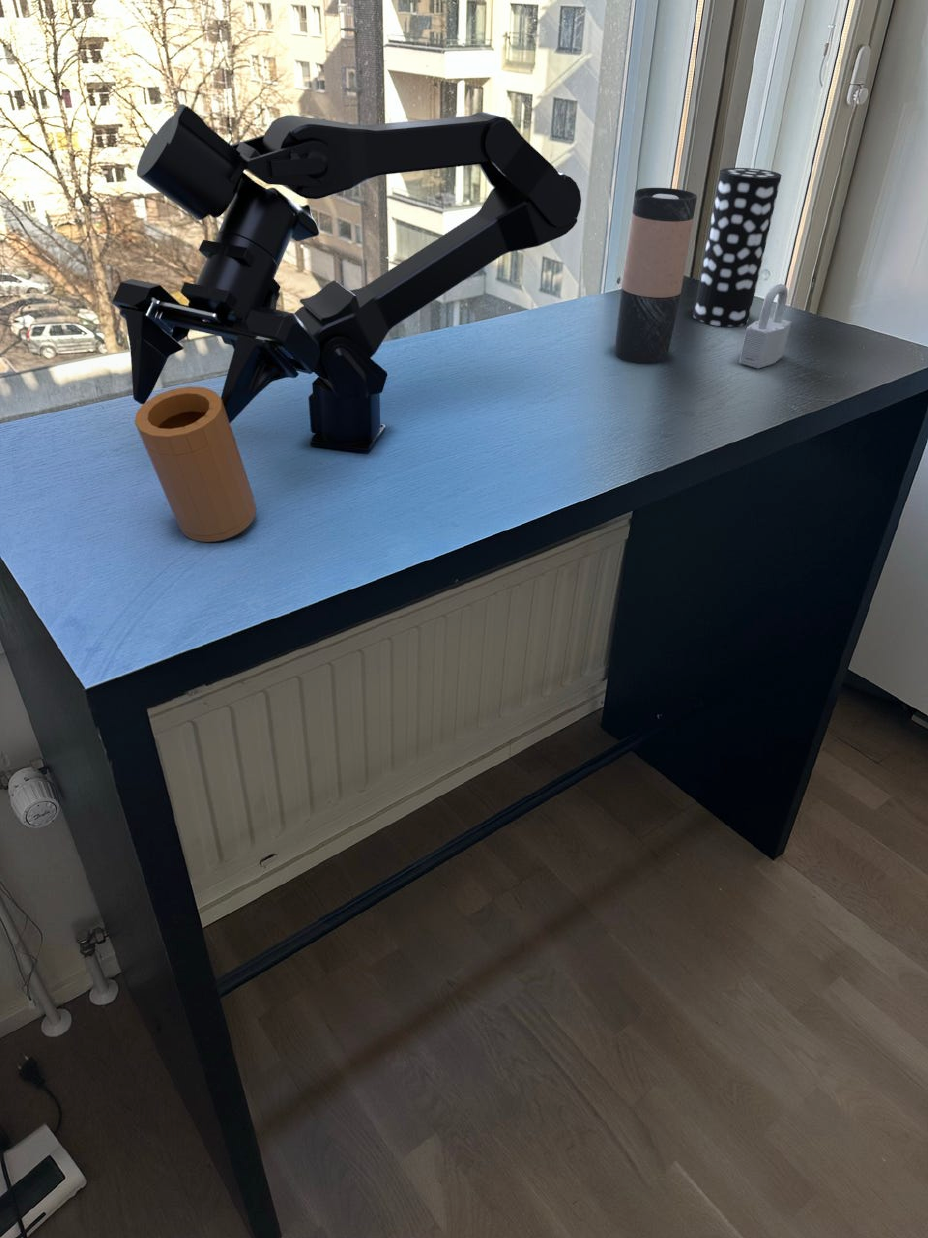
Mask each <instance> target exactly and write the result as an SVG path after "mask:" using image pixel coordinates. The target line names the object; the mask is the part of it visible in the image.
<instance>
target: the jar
mask: <svg viewBox="0 0 928 1238" xmlns="http://www.w3.org/2000/svg"><path fill="white" fill-rule="evenodd" d="M134 424H135V426H136V429H137V431H138V434H139V436H140V439H141V441H142V443H143V445H144V448H145V451H146V453H147V455H148V457H149V460H150V462H151V464H152V466H153V469H154V471H155V474H156V476H157V478H158V481H159V483H160V486H161V488H162V490H163V493H164V495H165V497H166V500H167V503H168V505H169V507H170V510H171V512H172V515H173V517H174V519H175V522H176V523H177V524H178V526H179V529H180V531H181V533H182V534H183V535H184V536H185V537H187V538H189V539H190V540H193V541H196V542H202V543H213V542H221V541H224V540H227V539H231V538H233V537H235V536H236V535H238V534H240V533H242V532H244V531H245V530H246V529H247V528H248V527H249V526H250V525H251V524H252V522H253V521H254V519H255V517H256V514H257V504H256V501H255V496H254V493H253V491H252V488H251V484H250V482H249V477H248V475H247V472H246V468H245V466H244V463H243V459H242V456H241V454H240V450H239V448H238V445H237V441H236V439H235V435H234V432H233V429H232V426H231V423H229V420H228V417H227V414H226V411H225V408H224V405H223V402H222V399H221V396H219V394H218V393H217V392H216V391H214V390H212V389H209V388H206V387H205V386H193V385H191V386H190V385H189V386H183V387H177V388H173V389H169V390H166V391H163V392H161V393H158V394H157V395H154V396H153V397H151V398H150V399H147V401H146V402H145V404H141V406H140V408H139V409H138V410H137V411H136V413H135V419H134Z"/></svg>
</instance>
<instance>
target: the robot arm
mask: <svg viewBox="0 0 928 1238" xmlns="http://www.w3.org/2000/svg"><path fill="white" fill-rule="evenodd" d="M476 165H478V166H479V168H480V170H481V172H482V174H483V175H484V177H485V179H486V181H487V182H488V183H489V185H491V186H492V190H490V193H489V195H488V196H487V197H486V199H485V201H484V203H483V204H482V206H481V208H480V209H479V210H478V211H477V212H476V213H475V214H474V215H472V216H470V217H469V218H468V219H466V220H464V221H463V222H461V223H460V224H459V225H457V226H455V227H454V228H452V229H450V230H449V231H448V232H446V233H445V234H443V235H442V236H440V237H438V238H437V239H435V240H434V241H432V242H431V243H429V244H427V245H426V246H425V247H423V248H422V249H420V250H418V251H417V252H416V253H414V254H412V255H410V256H409V257H408V258H406V259H404V260H403V261H402V262H400V263H398V264H397V265H395V266H394V267H392V268H391V269H389V270H388V271H386V272H385V273H383V274H382V275H380V276H378V277H377V278H375V279H374V280H372V281H371V282H369V283H368V284H366V285H364V286H362V287H360V288H356V289H351V290H350V289H349V290H348V289H347V288H346V287H345V286H343V284H341V283H339V282H338V281H337V280H336V279H335V280H332V281H330V282H329V283H327V284H325V286H323V287H322V288H320V290H319V291H318V292H317V293H315V294H313V295H312V296H309V297H304V298H301V299H300V300H299V303H300V304H301V305H302V306H301V307H299V308H298V309H297V310H296V311H295V312H290V311H284V310H280V309H277V307H278V306H277V305H278V300H279V298H280V296H281V293H280V290H281V285H280V284H279V283H278V281H276V279H275V277H276V275H277V273H278V270H279V267H280V265H281V263H282V261H283V258H284V255H285V253H286V251H287V248H288V246H289V244H290V241H291V239H293V240H294V241H295V242H301V241H305V240H308V239H312V238H314V237H317V236H319V234H320V229H319V226H318V224H317V221H316V220H315V218H314V217H313V215H312V209H311V206H310V205H309V204H305V205H302V206H298V205H296V204H295V203H294V202H293V201H292V200H290V199H289V198H288V197H286V195H284V193H282V192H280V191H279V190H278V189H277V188H276V187H269V188H267V187H264V186H262V185H261V184H260V183H257V182H256V181H255V180H254V179H252V178H251V177H250V176H249V175H247V173H248V174H250V175H252V176H254V177H255V178H257V179H258V180H260V181H261V182H263V183H264V184H267V185H272V186H273V185H275V186H282V187H285V188H286V189H288V190H289V191H291V192H292V193H294V194H296V195H298V196H299V197H302V198H304V199H308V200H319V199H324V198H326V197H329V196H333V195H335V194H338V193H342V192H345V191H348V190H351V189H353V188H355V187H357V186H358V185H360V184H362V183H363V182H365V181H367V180H370V179H374V178H377V177H379V176H386V175H395V174H402V173H404V174H405V173H412V172H421V171H430V170H439V169H449V168H458V167H459V168H460V167H467V166H476ZM136 168H137V169H136V175H137V178H140V179H141V180H142V181H144V183H146V184H148V185H149V186H150V187H152V188H153V189H154V190H156V191H157V192H158V193H160V194H161V195H162V196H164V197H165V198H167V199H168V200H169V201H171V202H172V203H173V204H175V205H176V206H178V207H179V208H180V209H182V211H183V210H184V211H185V212H186V213H187V214H189V216H191V217H193V218H194V219H196V221H201V220H204V219H205V218H207V217H208V216H210V217H212V219H217V218H219V217H220V216H222V215H223V214H224V213H225V212H226V213H225V216H224V217H223V220H222V222H221V225H220V227H219V230H218V231H217V234H216V236H215V237H214V238H215V239H214V240H208V239H202V241H201V244H200V245H199V248H198V251H199V252H200V253H201V254H202V255H203V256H204V258H206V259H205V262H204V264H203V266H202V268H201V271H200V273H199V276H198V278H197V280H196V282H195V283H192V282H187V281H184V283H183V284H182V287H181V290H180V294H181V295H182V296H183V297H184V298H185V299H187V300H188V303H187V305H186V304H182V303H180V302H179V300H177V299H176V298H175V297H174V296H173V295H172V294H171V293H169V291H167V289H166V288H164V287H163V286H162V285H161V284H157V283H153V282H149V281H143V280H138V279H134V278H130V279H126V280H123V281H120V282H119V285H118V287H117V289H116V292H115V294H114V296H113V299H112V302H111V304H113V305H114V306H115V307H116V308H117V309H118V310H119V315H120V317H121V318H123V319H124V320H125V322H126V329H127V335H128V343H129V352H130V365H131V366H130V367H131V382H132V384H131V385H132V398H133V400H134V402H136V403H138V404H140V405H143V404H145V402H147V401H148V400H149V397H150V396H151V394H152V392H153V391H154V389H155V387H156V385H157V382H158V381H159V378H160V376H161V374H162V372H163V370H164V367H165V365H166V363H167V361H168V359H169V357H170V356H172V355H175V354H176V353H178V352H180V351H183V350H184V349H185V347H184V346H183V345H182V344H181V343H179V342H180V341H182V340H183V339H185V338H187V337H188V336H189V333H190V331H191V330H192V331H195V332H200V333H205V334H209V335H212V336H217V337H220V338H221V339H222V342H223V343H224V344H225V345H230V346H232V349H233V352H232V356H231V360H230V363H229V367H228V371H227V374H226V378H225V381H224V384H223V385H224V386H223V389H222V392H221V395H220V398H221V399H222V402H223V405H224V408H225V411H226V414H227V417H228V420H229V423H230V424H231V423H232V422H233V421H234V420H235V419H236V418H237V417H238V416H239V415H240V414H241V412H243V410H244V409H246V407H247V406H249V404H250V403H251V402H252V401H253V400H254V399H255V398H256V397H257V396H258V395H259V394H260V393H261V392H262V391H263V390H264V389H266V388H267V387H268V386H269V385H271V383H273V382H276V381H279V380H283V379H287V378H289V379H295V378H297V377H298V376H299V375H300V374H299V372H300V373H304V374H308V375H312V374H313V373H314V374H315V375H316V376H317V378H316V379H314V381H313V382H312V383H311V388H312V390H311V391H312V392H311V393H310V394H309V396H308V409H309V411H308V412H309V424H310V432H311V433H312V434H313V435H312V436H311V437H310V439H309V445H310V446H313V447H320V448H327V449H334V450H341V451H348V452H349V451H350V452H357V453H370V452H371V450H372V449H373V448H374V446H375V444H376V443H377V442H378V441H379V439H380V438H381V437H382V435H383V434H384V433H385V431H386V425H385V424H382V423H381V397H380V394H382V393H383V391H384V388H385V385H386V381H387V378H388V371H386V370H385V369H384V368H382V367H381V365H379V364H378V363H377V362H376V361H375V360H374V359H372V357H374V355H376V353H377V352H378V350H379V348H380V347H381V345H382V343H383V341H384V340H385V338H386V336H387V335H388V333H389V332H390V331H391V330H392V329H394V327H396V326H397V325H398V324H400V323H401V322H403V321H404V320H406V319H407V318H409V317H410V316H412V315H414V314H415V313H417V312H418V311H420V310H422V309H423V308H425V307H426V306H428V305H430V304H431V303H433V302H434V301H435V300H436V299H439V298H440V297H441V296H442V295H444V294H445V293H447V292H449V291H450V290H452V289H453V288H455V287H457V286H458V285H460V284H461V283H462V282H464V281H466V280H467V279H469V278H470V277H471V276H473V275H475V274H476V273H478V272H479V271H481V270H482V269H484V268H486V267H487V266H488V265H491V263H493V262H494V261H496V260H497V259H499V258H500V257H502V256H504V255H506V254H508V253H512V252H517V251H522V250H527V249H531V248H537V247H540V246H542V245H545V244H548V243H549V242H552V241H554V240H556V239H558V238H561V237H563V236H565V235H567V234H568V233H570V231H571V230H573V229H574V227H575V226H576V225H577V223H578V217H579V215H580V211H581V205H582V196H581V190H580V188H579V185H578V183H577V182H576V181H575V180H574V179H573V178H572V177H571V176H569V175H566V174H564V173H561V172H559V171H557V169H556V168H555V167H554V166H553V164H552V163H551V162H549V161H548V159H546V158H545V157H544V156H543V155H542V154H541V153H540V152H539V151H538V150H537V149H536V148H535V147H533V146H532V145H531V144H530V143H529V142H528V141H527V140H526V139H525V138H524V137H523V135H522V134H521V133H520V131H519V130H518V129H517V128H516V127H515V125H514V124H513V122H512V121H511V120H510V119H508V118H507V117H505V116H502V115H497V114H495V113H494V114H493V113H489V112H484V111H479V112H475V113H474V114H472V115H466V116H465V115H464V116H455V117H443V118H432V119H420V120H419V119H418V120H408V121H407V120H406V121H396V122H385V123H374V124H373V123H372V124H355V123H347V122H341V121H337V120H331V119H325V118H316V117H308V116H300V115H291V114H290V115H284V116H279V117H277V118H275V119H274V120H272V121H271V122H270V125H269V126H268V128H267V129H266V130H265V133H264V134H262V135H259V136H256V137H251V138H249V139H246V140H243V141H240V142H237V143H236V142H235V143H233V144H230V143H229V142H228V141H227V140H225V139H224V138H223V137H222V136H221V135H219V134H218V133H217V132H215V130H213V129H212V128H211V127H209V125H208V124H207V123H206V122H205V120H204V119H203V118H202V117H201V116H200V115H199V114H198V113H197V112H196V111H194V110H193V109H191V107H189V106H187V105H186V104H184V103H180V104H179V105H178V107H177V108H176V110H175V112H174V114H173V115H171V117H169V118H168V119H167V120H166V121H165V122H164V124H163V125H162V126H161V127H160V128H159V130H158V131H157V132H156V133H155V132H154V133H153V134H152V135H151V137H150V138H149V140H148V142H147V143H146V145H145V147H144V149H143V152H142V153H141V156H140V157H139V161H138V165H137V167H136ZM244 171H245V172H247V173H245V172H244Z"/></svg>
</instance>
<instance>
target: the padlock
mask: <svg viewBox="0 0 928 1238" xmlns="http://www.w3.org/2000/svg"><path fill="white" fill-rule="evenodd" d="M788 295H789V291H788V288H787V286H786V284H782V283H778V284H775V285H774V286H772V287H771V288H770V289H769V290H768V292H767V293H766V295H765V297H764V299H763V303H762V305H761V306H762V307H761V310H760V314H759V318H758V320H755V321H754V322H752V323H751V324H750V325H748V326H747V327H746V330H745V334H744V339H743V343H742V347H741V351H740V356H739V361H738V364H740V365H745V366H748V367H752V368H755V369H757V370H758V369H761V368H765V367H768V366H771V365H774V364H776V363H777V362H778V361H779V360H781V358H783V357H784V352H785V348H786V344H787V340H788V337H789V333H790V329H791V324H792V321H790V320H785V319H783V317H784V312H785V309H786V304H787V300H788ZM776 297H777V301H776V305H775V310H774V314H773V316H770V314H771V310H772V306H773V304H774V300H775V299H776Z"/></svg>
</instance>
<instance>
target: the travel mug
mask: <svg viewBox="0 0 928 1238" xmlns="http://www.w3.org/2000/svg"><path fill="white" fill-rule="evenodd" d="M697 198H698V196H697V194H696V193H694V192H691V191H689V190H688V191H687V190H684V189H679V188H670V187H642V188H640V189H636V190H635V192H634V199H633V206H632V214H631V219H630V226H629V232H628V233H629V234H628V239H627V247H626V253H625V260H624V266H623V273H622V280H621V289H620V296H619V304H618V305H619V306H618V315H617V322H616V323H617V324H616V331H615V332H616V334H615V342H614V344H615V345H614V355H615V356H616V357H617V358H618V359H621V360H623V361H625V362H628V363H634V364H640V365H655V364H660V363H663V362H665V361H666V360H667V359H668V355H669V351H670V347H671V342H672V336H673V332H674V328H675V323H676V319H677V312H678V308H679V303H680V299H681V294H682V289H683V282H684V277H685V270H686V265H687V259H688V253H689V248H690V247H689V246H690V240H691V234H692V229H693V223H694V218H695V217H694V216H695V211H696V205H697V201H698V199H697Z"/></svg>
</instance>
